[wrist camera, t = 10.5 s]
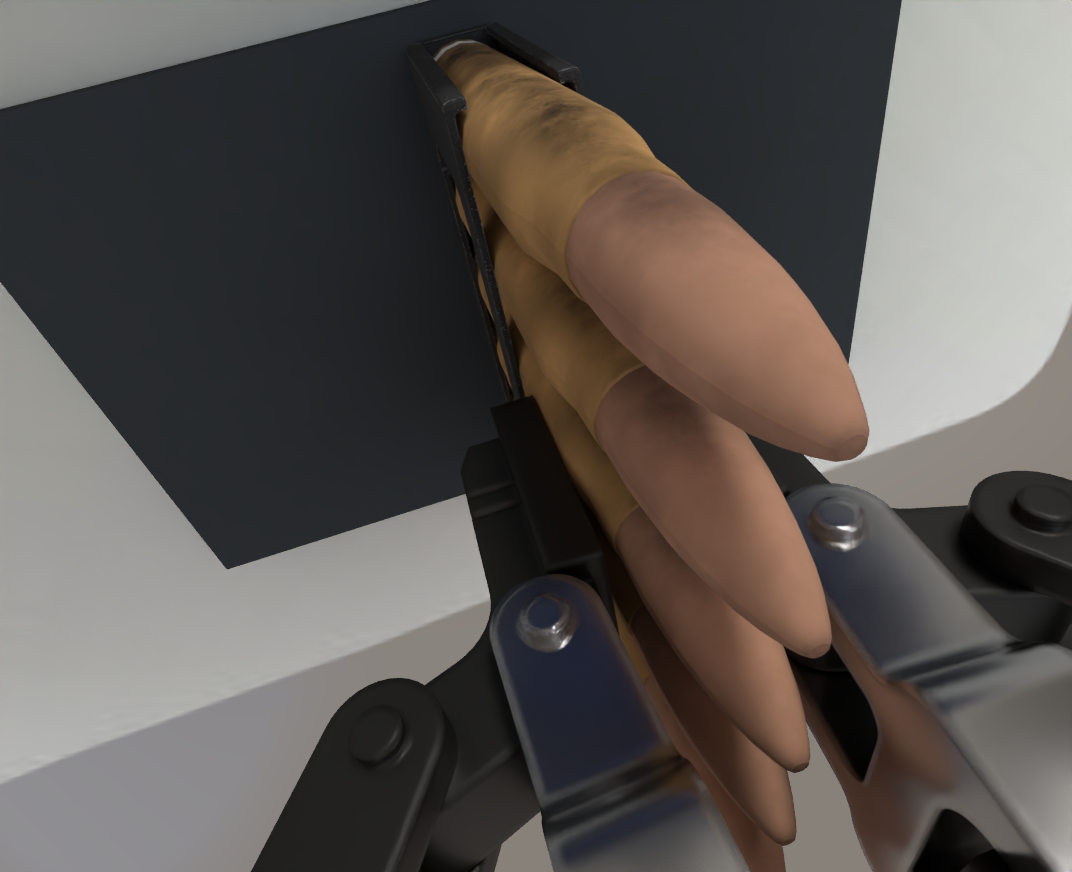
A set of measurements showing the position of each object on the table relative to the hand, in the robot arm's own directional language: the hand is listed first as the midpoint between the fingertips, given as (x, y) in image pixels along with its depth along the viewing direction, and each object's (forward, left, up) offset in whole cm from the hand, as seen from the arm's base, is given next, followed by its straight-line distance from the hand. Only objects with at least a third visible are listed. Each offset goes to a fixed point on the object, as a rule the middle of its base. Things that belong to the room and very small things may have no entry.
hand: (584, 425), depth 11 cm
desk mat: (0, 0, -7) cm, 7 cm away
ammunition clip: (0, 0, -6) cm, 6 cm away
